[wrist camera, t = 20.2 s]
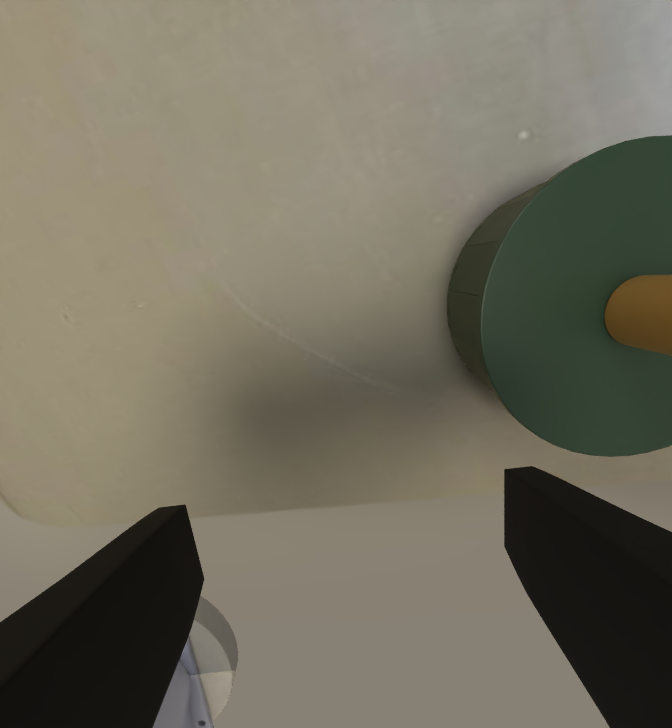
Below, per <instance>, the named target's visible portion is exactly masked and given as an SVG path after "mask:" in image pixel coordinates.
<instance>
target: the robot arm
mask: <svg viewBox="0 0 672 728" xmlns="http://www.w3.org/2000/svg"><path fill="white" fill-rule="evenodd" d="M504 495H505V499H504V500H505V501H504V503H505V504H504V507H505V511H504V512H505V513H504V517H505V518H504V519H505V520H504V523H505V524H504V526H505V527H504V529H505V530H504V531H505V533H504V535H505V539H504V540H505V542H504V544H505V548H506V551H507V553H508V555H509V557H510V559H511V562H512V564H513V566H514V568H515V570H516V572H517V575H518V577H519V579H520V580H521V582H522V585H523V587H524V589H525V591H526V592H527V594H528V596H529V598H530V599H531V601H532V603H533V604H534V606H535V608H536V609H537V611H538V613H539V614H540V616H541V617H542V619H543V621H544V622H545V624H546V625H547V627H548V629H549V630H550V632H551V634H552V635H553V637H554V638H555V640H556V642H557V643H558V645H559V646H560V648H561V649H562V651H563V653H564V654H565V656H566V657H567V659H568V661H569V662H570V664H571V665H572V667H573V669H574V670H575V672H576V674H577V675H578V677H579V678H580V680H581V682H582V683H583V685H584V686H585V688H586V690H587V691H588V693H589V694H590V696H591V698H592V699H593V701H594V702H595V704H596V706H597V707H598V709H599V710H600V712H601V714H602V715H603V717H604V718H605V720H606V722H607V724H608V725H609V727H610V728H672V532H670V531H668V530H666V529H664V528H661V527H659V526H657V525H655V524H653V523H651V522H649V521H646V520H644V519H642V518H640V517H638V516H636V515H634V514H632V513H629V512H627V511H625V510H623V509H621V508H619V507H617V506H615V505H613V504H611V503H609V502H607V501H605V500H603V499H600V498H599V497H596V496H594V495H592V494H590V493H588V492H586V491H584V490H582V489H580V488H578V487H576V486H574V485H572V484H570V483H568V482H566V481H564V480H562V479H560V478H558V477H556V476H553V475H551V474H549V473H547V472H545V471H542V470H540V469H538V468H535V467H532V466H530V467H521V468H512V469H504ZM203 581H204V576H203V572H202V568H201V564H200V560H199V556H198V552H197V548H196V544H195V540H194V536H193V532H192V528H191V524H190V520H189V516H188V512H187V508H186V505H178V506H169V507H160V508H158V509H156V510H155V511H153V512H151V513H150V514H148V515H147V516H145V517H144V518H143V519H141V520H140V521H138V522H137V523H136V524H134V525H133V526H131V527H130V528H129V529H128V530H126V531H125V532H123V533H122V534H121V535H119V536H118V537H117V538H115V539H114V540H113V541H111V542H110V543H109V544H107V545H106V546H105V547H103V548H102V549H101V550H99V551H98V552H97V553H95V554H94V555H93V556H91V557H90V558H89V559H87V560H86V561H85V562H83V563H82V564H81V565H80V566H78V567H77V568H75V569H74V570H73V571H71V572H70V573H69V574H68V575H66V576H65V577H63V578H62V579H61V580H59V581H58V582H56V583H55V584H54V585H52V586H51V587H49V588H48V589H47V590H45V591H44V592H42V593H41V594H40V595H38V596H37V597H35V598H34V599H33V600H31V601H30V602H28V603H27V604H26V605H24V606H23V607H21V608H20V609H19V610H17V611H16V612H14V613H13V614H11V615H10V616H9V617H8V618H6V619H4V620H3V621H2V622H0V728H214V726H213V723H212V719H211V715H210V712H209V708H208V705H207V701H206V697H205V694H204V690H203V687H202V683H201V679H200V676H199V672H198V669H197V665H196V661H195V658H194V654H193V651H192V647H191V643H190V640H189V633H190V630H191V627H192V624H193V620H194V616H195V613H196V609H197V606H198V602H199V598H200V594H201V590H202V585H203Z"/></svg>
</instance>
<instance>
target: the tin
mask: <svg viewBox="0 0 672 728" xmlns="http://www.w3.org/2000/svg"><path fill="white" fill-rule="evenodd" d="M545 183H546V182H545ZM545 183H542V184H540V185H537V186H536V187H534V188H532V189H530V190H529V191H527V192H525V193H523V194H521V195H519V196H517V197H515V198H513V199H511V200H510V201H508V202H507V203H505V204H504V205H502V206H500V207H498V208H497V209H496V210H495V211H494V212H493V213H492V214H491V215H490V216H488V217H487V218H486V219H485V220H484V221H483V223H482V224H481V225H480V226H479V227H478V228H477V229H476V230H475V232H474V233H473V234H472V236H471V237H470V238H469V240H468V241H467V243H466V244H465V246H464V248H463V250H462V251H461V253H460V255H459V257H458V260H457V262H456V265H455V267H454V269H453V273H452V276H451V280H450V284H449V290H448V297H447V316H448V325H449V329H450V333H451V337H452V340H453V342H454V345H455V347H456V350H457V352H458V353H459V355H460V357H461V359H462V360H463V362H464V363H465V364H466V367H467V368H468V370H469V371H471V372H472V373H473V374H474V375H475V376H477V377H478V378H479V379H480V380H481V381H483V382H484V383H485V384H486V385H488V386H489V387H490V388H491V386H490V385H489V383H488V381H487V378H486V376H485V373H484V370H483V368H482V365H481V361H480V357H479V353H478V349H477V340H476V330H475V323H476V305H477V299H478V293H479V287H480V284H481V280H482V277H483V273H484V270H485V267H486V264H487V262H488V260H489V257H490V255H491V253H492V250H493V248H494V246H495V244H496V242H497V241H498V239H499V237H500V235H501V234H502V232H503V230H504V229H505V227H506V225H507V224H508V223H509V221H510V220H511V219H512V217H513V216H514V215H515V213H516V212H517V211H518V209H519V208H520V207H521V206H522V205H523V204H524V203H525V202H526V201H527V200H528V199H529V197H530V196H531V195H532V194H533V193H534V192H535V191H536V190H537V189H539V188H540V187H541V186H542V185H543V184H545ZM491 389H492V388H491Z"/></svg>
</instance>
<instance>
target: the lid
mask: <svg viewBox="0 0 672 728" xmlns="http://www.w3.org/2000/svg"><path fill="white" fill-rule="evenodd" d="M475 330H476V340H477V349H478V353H479V357H480V361H481V365H482V368H483V370H484V373H485V376H486V378H487V381H488V383H489V385H490V386H491V388H492V390H493V392H494V393H495V395H496V397H497V399H498V400H499V401H500V402H501V404H502V405H503V406H504V407H505V409H506V410H507V411H508V412H509V413H510V414H511V415H512V416H513V417H514V418H515V419H516V420H517V421H518V422H519V423H520V424H522V425H523V426H524V427H525V428H527V429H528V430H530V431H531V432H533V433H534V434H535V435H537V436H538V437H540V438H541V439H543V440H545V441H547V442H549V443H551V444H553V445H555V446H558V447H561V448H564V449H567V450H569V451H572V452H577V453H582V454H587V455H594V456H608V457H613V456H630V455H636V454H642V453H648V452H651V451H655V450H658V449H662V448H665V447H668V446H671V445H672V136H652V137H644V138H639V139H634V140H629V141H624V142H622V143H619V144H616V145H613V146H610V147H607V148H604V149H601V150H599V151H597V152H595V153H593V154H591V155H589V156H587V157H585V158H583V159H581V160H579V161H577V162H575V163H573V164H571V165H570V166H568V167H567V168H565V169H564V170H562V171H561V172H559V173H557V174H556V175H554V176H553V177H552V178H551V179H549V180H548V181H547V182H546V183H545V184H543V185H542V186H541V187H540V188H539V189H537V190H536V191H535V192H534V193H533V194H532V195H531V196H530V197H529V199H528V200H527V201H526V202H525V203H524V204H523V205H522V206H521V207H520V208H519V209H518V211H517V212H516V213H515V215H514V216H513V217H512V219H511V220H510V221H509V223H508V224H507V225H506V227H505V229H504V230H503V232H502V234H501V235H500V237H499V239H498V241H497V242H496V244H495V246H494V248H493V250H492V253H491V255H490V257H489V260H488V262H487V264H486V267H485V270H484V273H483V277H482V280H481V284H480V287H479V293H478V299H477V305H476V323H475Z"/></svg>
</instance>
